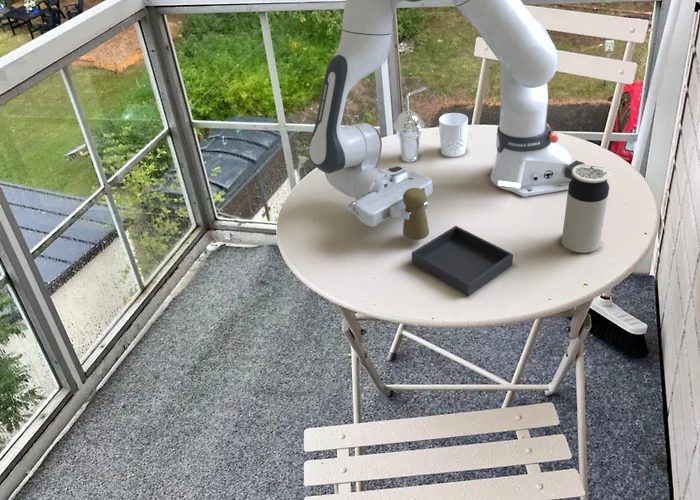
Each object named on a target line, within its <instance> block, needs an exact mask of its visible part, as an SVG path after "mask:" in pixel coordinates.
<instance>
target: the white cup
mask: <svg viewBox="0 0 700 500" xmlns="http://www.w3.org/2000/svg"><path fill="white" fill-rule="evenodd" d="M468 125H469V117H468V116H467V115H466V114H464V113H460V112H449V113H445V114H442V115H441V116H439V118H438V129H439V143H440V152H441V154H442V155H443V156H445V157H449V158H457V157H461V156H463V155H464V154H466V149H467V142H468V141H467V139H468Z"/></svg>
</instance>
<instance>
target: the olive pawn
mask: <svg viewBox="0 0 700 500" xmlns="http://www.w3.org/2000/svg"><path fill="white" fill-rule="evenodd" d="M427 198H428V196H427V197H426V193H425V192H424V190H422V189H420V188H410V189H408V190H406V191H405V193H404V195H403V202H404V204H405V205H406V207H405V209H407V210H408V211H411V213H412V215H411V218H410V219H408V220H406V219H404V218H403V228H402V235H403V236H404V238H406V239H408V240H412V241H419V240H424V239H425V238H427V237H428V236H429V235H430V230H429V229H430V228H429V223H428V217H427V211H426V209H425V206H424V204H425V203H426V201H427ZM405 209H404V210H405Z"/></svg>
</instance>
